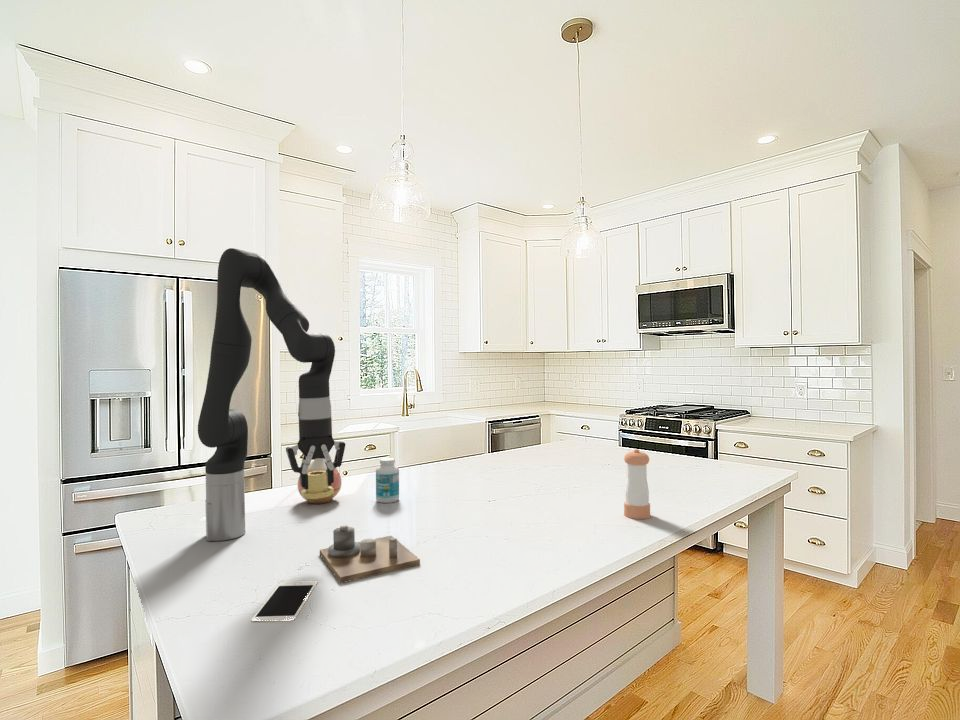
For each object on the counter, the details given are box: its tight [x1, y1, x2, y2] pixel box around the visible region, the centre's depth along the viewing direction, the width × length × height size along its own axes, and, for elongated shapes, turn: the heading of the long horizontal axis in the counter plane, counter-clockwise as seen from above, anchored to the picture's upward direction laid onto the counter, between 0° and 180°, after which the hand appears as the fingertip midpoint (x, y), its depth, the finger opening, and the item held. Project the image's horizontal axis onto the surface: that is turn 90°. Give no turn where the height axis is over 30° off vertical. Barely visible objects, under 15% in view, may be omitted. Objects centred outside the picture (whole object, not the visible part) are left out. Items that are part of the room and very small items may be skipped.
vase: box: [297, 458, 343, 505], centre depth 170 cm, size 14×14×18 cm
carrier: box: [319, 525, 421, 584], centre depth 121 cm, size 18×18×7 cm
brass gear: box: [300, 471, 334, 500], centre depth 125 cm, size 7×7×5 cm
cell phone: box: [254, 580, 319, 621], centre depth 102 cm, size 8×16×1 cm, turn 2°
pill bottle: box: [375, 457, 400, 504], centre depth 170 cm, size 8×7×14 cm
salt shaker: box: [623, 448, 651, 520], centre depth 151 cm, size 7×7×19 cm
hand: (317, 486), depth 125 cm, fingers closed on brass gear, 4 cm apart
